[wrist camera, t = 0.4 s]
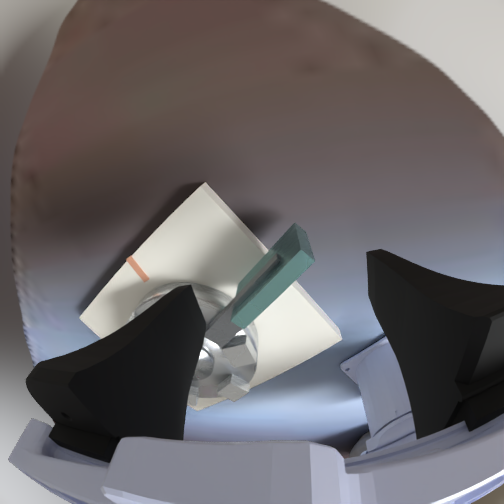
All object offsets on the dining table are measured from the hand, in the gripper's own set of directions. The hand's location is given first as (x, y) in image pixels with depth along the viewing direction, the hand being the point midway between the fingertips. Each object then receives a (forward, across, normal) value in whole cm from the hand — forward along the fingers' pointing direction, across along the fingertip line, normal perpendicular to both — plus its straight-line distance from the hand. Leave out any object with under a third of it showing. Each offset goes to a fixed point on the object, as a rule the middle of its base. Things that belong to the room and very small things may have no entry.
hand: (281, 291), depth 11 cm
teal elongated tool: (+8, +6, +6) cm, 12 cm away
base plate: (+10, +9, +8) cm, 16 cm away
